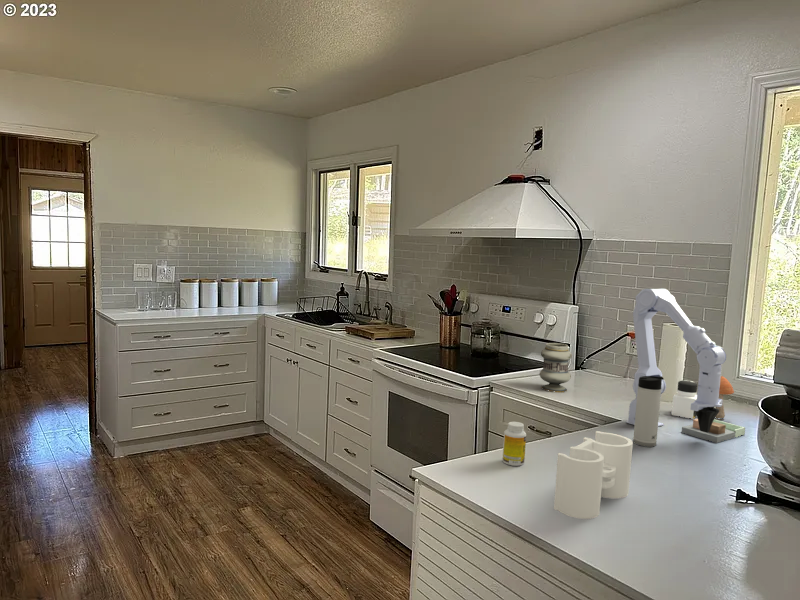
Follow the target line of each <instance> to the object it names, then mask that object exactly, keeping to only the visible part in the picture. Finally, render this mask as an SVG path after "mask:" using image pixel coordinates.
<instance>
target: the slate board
mask: <svg viewBox="0 0 800 600" xmlns="http://www.w3.org/2000/svg"><path fill="white" fill-rule="evenodd" d="M681 433H682V434H684V433H685V434H686V435H688V436H691V437H695V438H699V439H702V440H704V441H705V440H706V441H708V440H709V442H711V441H712V443H714V444H715V443H716V444H718V442H719V443H722V442H725V441H724V440H726V441H728V440H727V439H729V440H732V439H731V438H733V439H735V438H734V437H735V434H736V432H734V431H730V430H726V429H725V433H722V434H714V433H711V432H707V433H706V432H702V431H700V429H697V428H693V423H692V424H689V425H685V426H682V427H681ZM721 441H722V442H721Z"/></svg>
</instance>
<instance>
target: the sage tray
mask: <svg viewBox="0 0 800 600" xmlns="http://www.w3.org/2000/svg"><path fill="white" fill-rule="evenodd" d="M713 422H716V423H720V424H724V425H726V428H725V429H726V430H730V431H734V432H736V434H735V437H736V438H739V437H742V436H741V435H743V436H745V435H746V434H745V433H746V427H745V426H741V425H737V424H734V423H730V422H725V421H722V420H720V419H716V418H714V420H713ZM744 434H745V435H744ZM738 436H739V437H738Z"/></svg>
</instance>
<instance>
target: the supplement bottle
mask: <svg viewBox="0 0 800 600" xmlns="http://www.w3.org/2000/svg"><path fill="white" fill-rule="evenodd" d="M524 426H525V425H524V423H522V422H519V421H510V422H508V423H507V429H505V430H504V431H503V444H502V458H501V459H502V462H503V463H504V464H505V465H507V466H512V467H520V466H522V465H524V464H525V459H526V458H525V454H526V445H527V443H526V441H527V433H526V431H525V430H524V429H525V427H524Z"/></svg>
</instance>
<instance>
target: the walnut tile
mask: <svg viewBox="0 0 800 600" xmlns="http://www.w3.org/2000/svg"><path fill="white" fill-rule="evenodd" d="M725 428H726V425H724V424H720V423H716V422H713V423H712V425H711V428H710V430H709V432H711V433H714V434H722V433H725Z"/></svg>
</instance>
